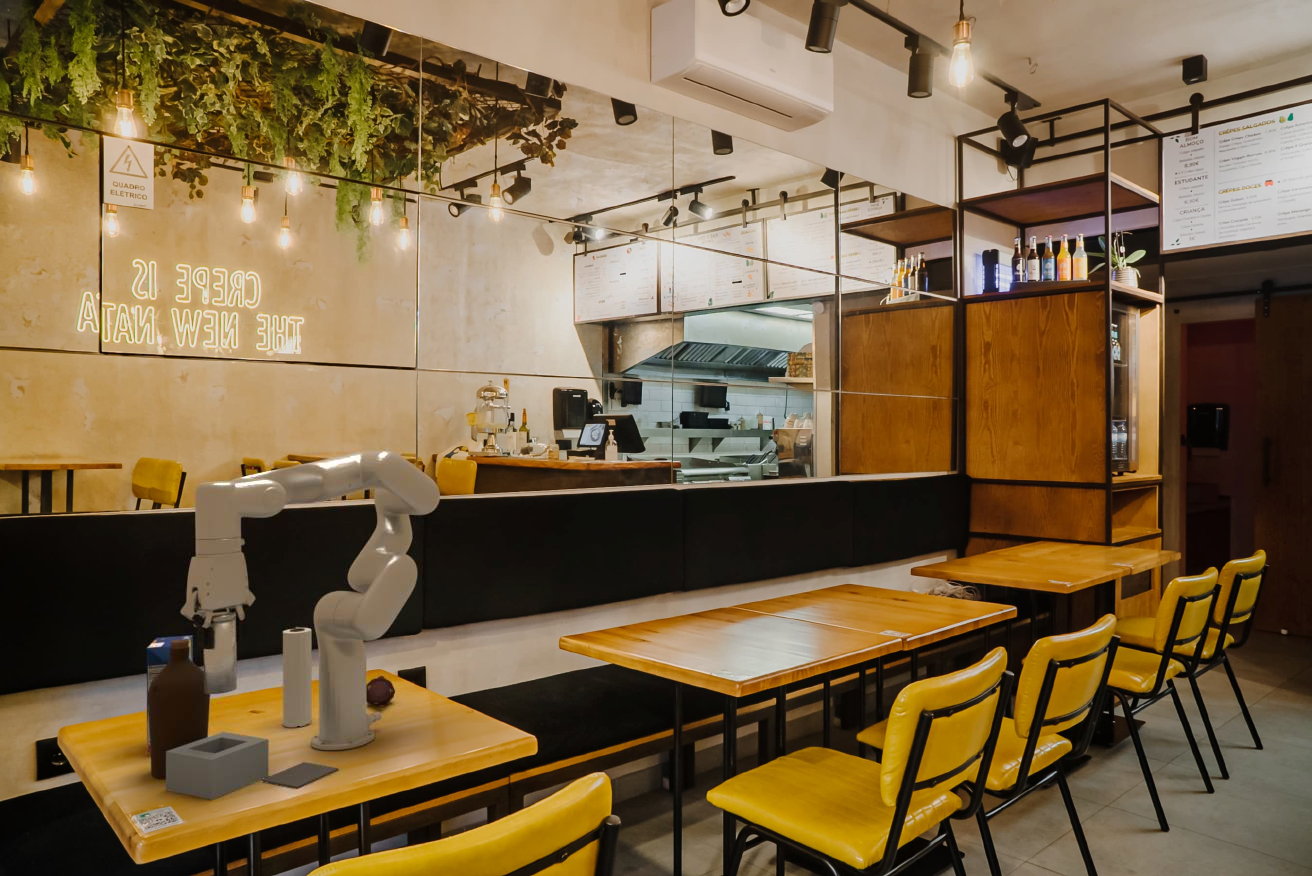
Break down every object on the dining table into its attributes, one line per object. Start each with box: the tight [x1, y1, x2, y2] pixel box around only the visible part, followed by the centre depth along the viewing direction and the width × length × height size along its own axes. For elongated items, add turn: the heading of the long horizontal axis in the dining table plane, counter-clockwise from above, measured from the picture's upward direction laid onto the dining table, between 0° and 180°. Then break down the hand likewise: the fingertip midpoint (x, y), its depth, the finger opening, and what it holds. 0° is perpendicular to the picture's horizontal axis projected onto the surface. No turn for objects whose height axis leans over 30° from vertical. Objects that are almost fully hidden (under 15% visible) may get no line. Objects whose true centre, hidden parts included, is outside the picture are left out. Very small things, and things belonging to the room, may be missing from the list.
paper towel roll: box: [282, 626, 313, 728], centre depth 193 cm, size 7×6×21 cm
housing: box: [165, 731, 269, 801], centre depth 157 cm, size 12×12×7 cm
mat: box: [260, 761, 339, 790], centre depth 160 cm, size 10×9×1 cm
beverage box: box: [146, 635, 194, 758], centre depth 179 cm, size 7×11×22 cm, turn 21°
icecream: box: [366, 675, 396, 707], centre depth 207 cm, size 7×7×15 cm
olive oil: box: [148, 639, 211, 780], centre depth 164 cm, size 11×11×25 cm
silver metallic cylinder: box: [203, 611, 238, 695], centre depth 158 cm, size 6×6×14 cm
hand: (220, 643), depth 158 cm, fingers closed on silver metallic cylinder, 5 cm apart
